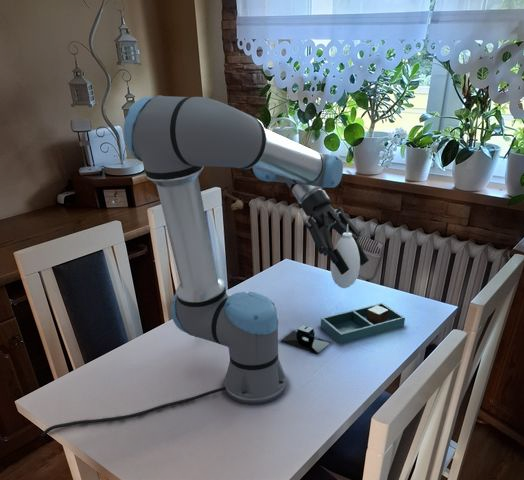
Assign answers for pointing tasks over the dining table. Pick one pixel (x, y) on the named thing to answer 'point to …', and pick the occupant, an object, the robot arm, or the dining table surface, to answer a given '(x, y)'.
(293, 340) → the build plate
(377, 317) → the walnut block
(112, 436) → the dining table surface
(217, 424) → the dining table surface
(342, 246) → the sauce bottle
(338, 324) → the tray
